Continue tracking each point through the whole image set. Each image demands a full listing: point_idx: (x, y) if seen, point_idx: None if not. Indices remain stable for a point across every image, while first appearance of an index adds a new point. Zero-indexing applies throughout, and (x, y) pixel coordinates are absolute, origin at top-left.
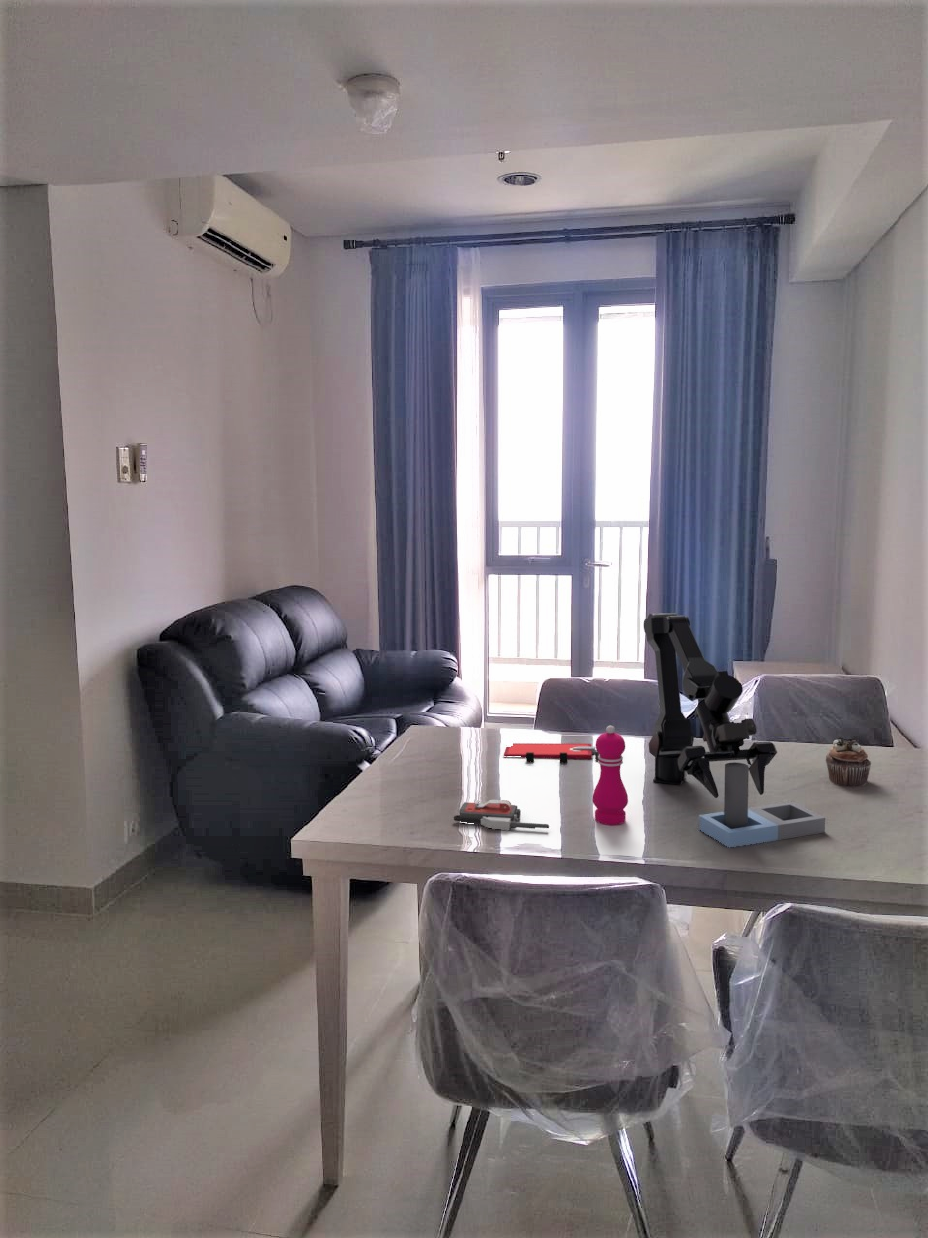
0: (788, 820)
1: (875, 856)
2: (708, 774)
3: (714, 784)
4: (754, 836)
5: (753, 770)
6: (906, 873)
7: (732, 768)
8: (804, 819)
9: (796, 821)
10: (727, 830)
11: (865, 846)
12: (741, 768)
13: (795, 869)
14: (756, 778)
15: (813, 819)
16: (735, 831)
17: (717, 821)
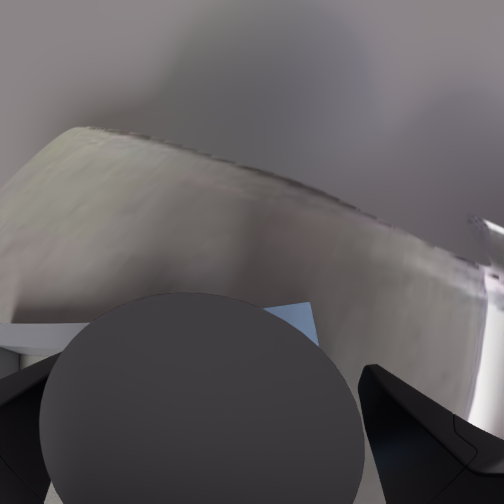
0: (57, 346)
1: (29, 204)
2: (468, 434)
3: (406, 396)
4: None
5: (13, 487)
6: (53, 149)
7: (315, 361)
8: (20, 333)
9: (44, 329)
10: (305, 325)
11: (6, 245)
12: (182, 329)
13: (201, 178)
14: (39, 430)
15: (6, 323)
16: (281, 310)
17: None
